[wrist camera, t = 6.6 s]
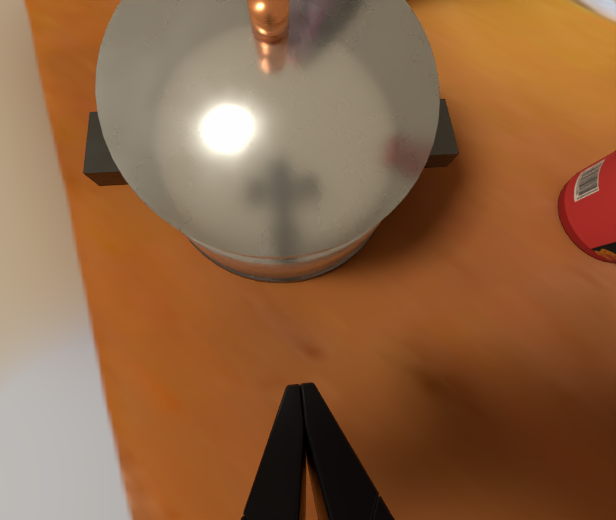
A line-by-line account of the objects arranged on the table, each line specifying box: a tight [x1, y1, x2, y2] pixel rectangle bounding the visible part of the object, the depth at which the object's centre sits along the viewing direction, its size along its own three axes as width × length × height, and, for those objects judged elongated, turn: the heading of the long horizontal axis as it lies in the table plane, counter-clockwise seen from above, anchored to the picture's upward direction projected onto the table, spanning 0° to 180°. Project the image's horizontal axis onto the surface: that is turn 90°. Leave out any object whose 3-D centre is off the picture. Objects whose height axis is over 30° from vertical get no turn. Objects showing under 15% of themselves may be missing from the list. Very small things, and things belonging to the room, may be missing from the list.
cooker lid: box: [95, 0, 440, 259], centre depth 14 cm, size 21×16×3 cm
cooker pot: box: [83, 99, 459, 283], centre depth 19 cm, size 16×22×6 cm
